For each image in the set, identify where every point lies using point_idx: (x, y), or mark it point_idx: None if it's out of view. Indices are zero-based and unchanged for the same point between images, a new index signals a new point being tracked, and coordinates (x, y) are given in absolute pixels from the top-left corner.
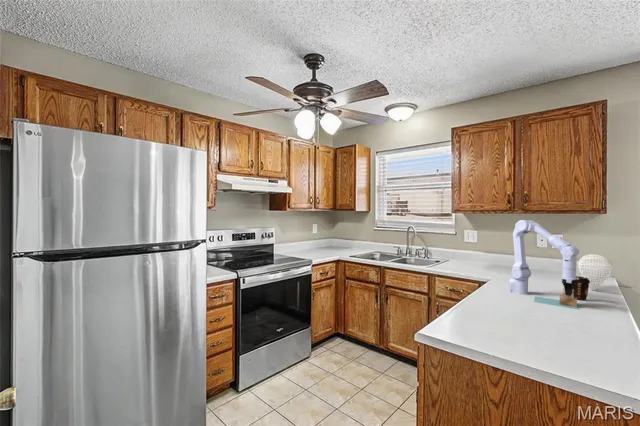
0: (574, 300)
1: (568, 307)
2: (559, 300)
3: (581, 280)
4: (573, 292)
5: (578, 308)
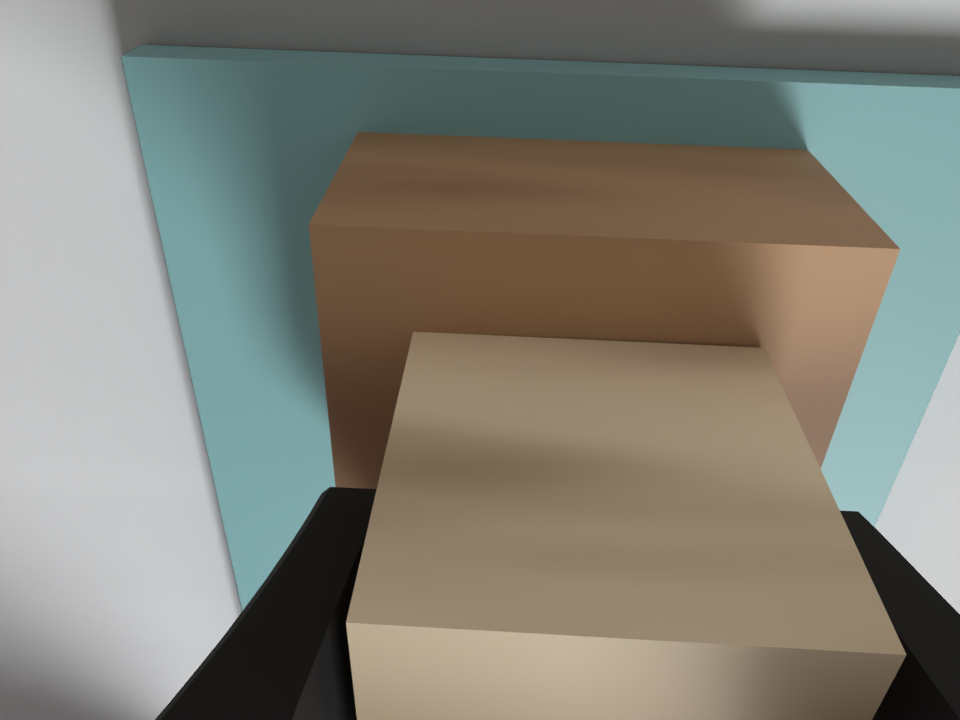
0: (869, 316)
1: (930, 338)
2: (245, 467)
3: None
4: (860, 567)
5: (924, 113)
